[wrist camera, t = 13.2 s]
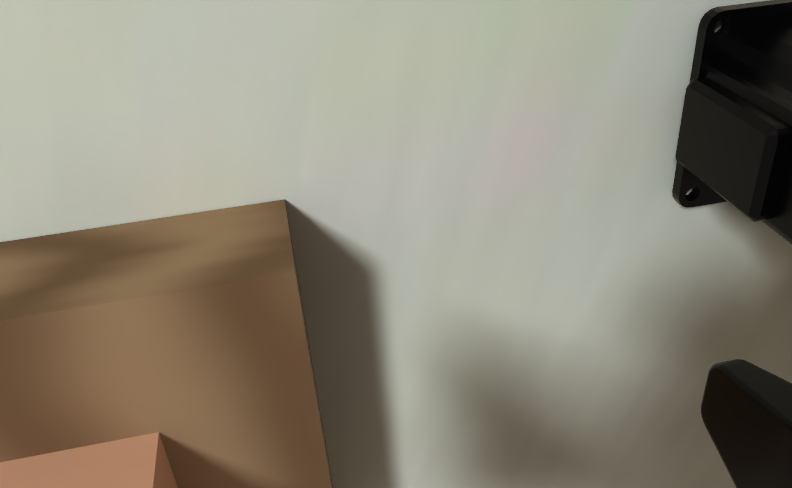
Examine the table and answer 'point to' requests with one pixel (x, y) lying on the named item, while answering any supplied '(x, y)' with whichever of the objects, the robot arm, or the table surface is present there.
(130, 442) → the terracotta block
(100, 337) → the walnut plinth
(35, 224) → the table surface
